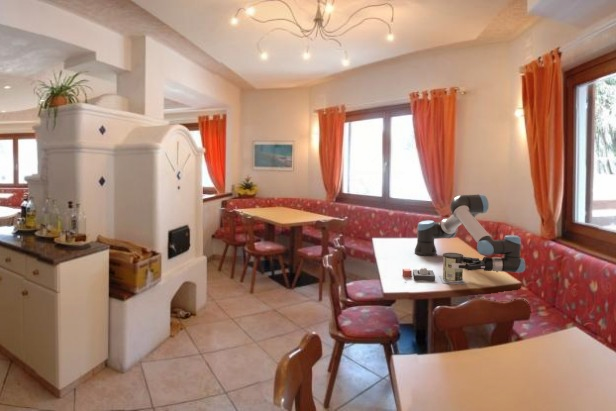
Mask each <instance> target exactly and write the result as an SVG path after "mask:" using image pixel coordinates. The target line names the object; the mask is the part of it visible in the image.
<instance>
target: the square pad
mask: <svg viewBox="0 0 616 411" xmlns="http://www.w3.org/2000/svg"><path fill="white" fill-rule="evenodd" d="M438 277H439V279H440V281H441V283H442V284H446V285H447V284H451V285H467V282H466V281H465V280H464V278H463V279H462V280H463V281H462V282H448V281H445V280H443V275H438Z"/></svg>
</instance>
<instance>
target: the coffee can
mask: <svg viewBox="0 0 616 411" xmlns="http://www.w3.org/2000/svg"><path fill="white" fill-rule="evenodd" d="M442 255H443V258H442V261H443V262H442V276H443V280H445V281H448V282H462V281H463V280H462V279H464V278H463V274H464V272H463V270H464V269H453V268H452V263H461V264H464V262H463V257H464V255H463V254H462V253H459V252H444V253H443V254H442Z"/></svg>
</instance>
